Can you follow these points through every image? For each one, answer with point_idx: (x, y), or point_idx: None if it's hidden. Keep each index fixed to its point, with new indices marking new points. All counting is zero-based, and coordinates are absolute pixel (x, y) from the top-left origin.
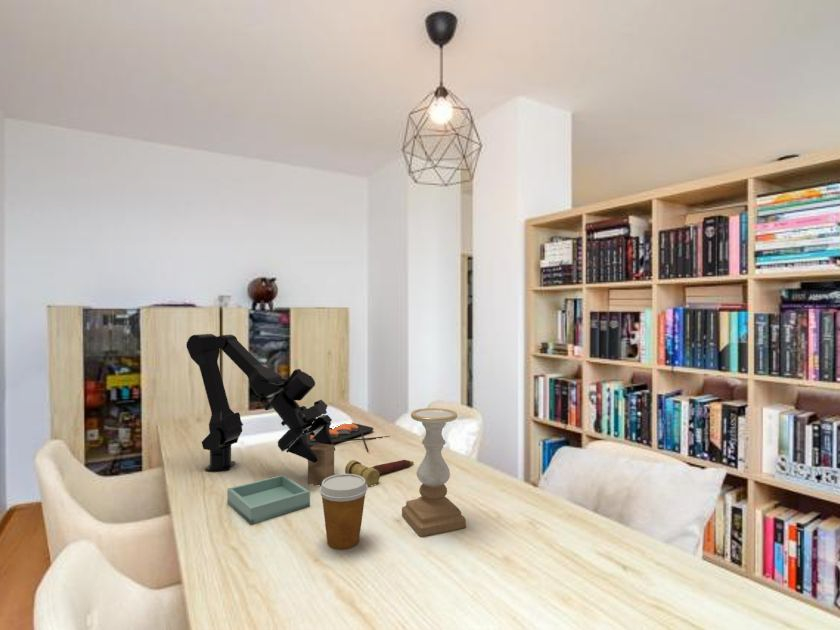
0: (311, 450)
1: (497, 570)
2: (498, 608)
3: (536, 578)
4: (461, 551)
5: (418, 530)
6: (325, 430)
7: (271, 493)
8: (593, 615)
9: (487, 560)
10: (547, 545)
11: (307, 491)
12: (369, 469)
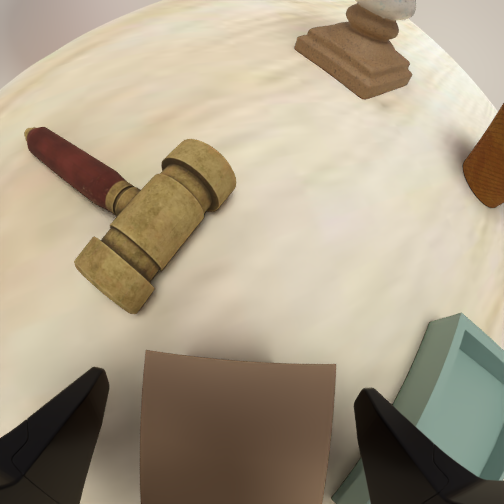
0: (410, 440)
1: (409, 44)
2: (449, 60)
3: (399, 29)
4: (403, 56)
5: (409, 79)
6: (6, 494)
7: None
8: (413, 25)
9: (401, 44)
10: (340, 7)
11: (463, 320)
12: (204, 156)
